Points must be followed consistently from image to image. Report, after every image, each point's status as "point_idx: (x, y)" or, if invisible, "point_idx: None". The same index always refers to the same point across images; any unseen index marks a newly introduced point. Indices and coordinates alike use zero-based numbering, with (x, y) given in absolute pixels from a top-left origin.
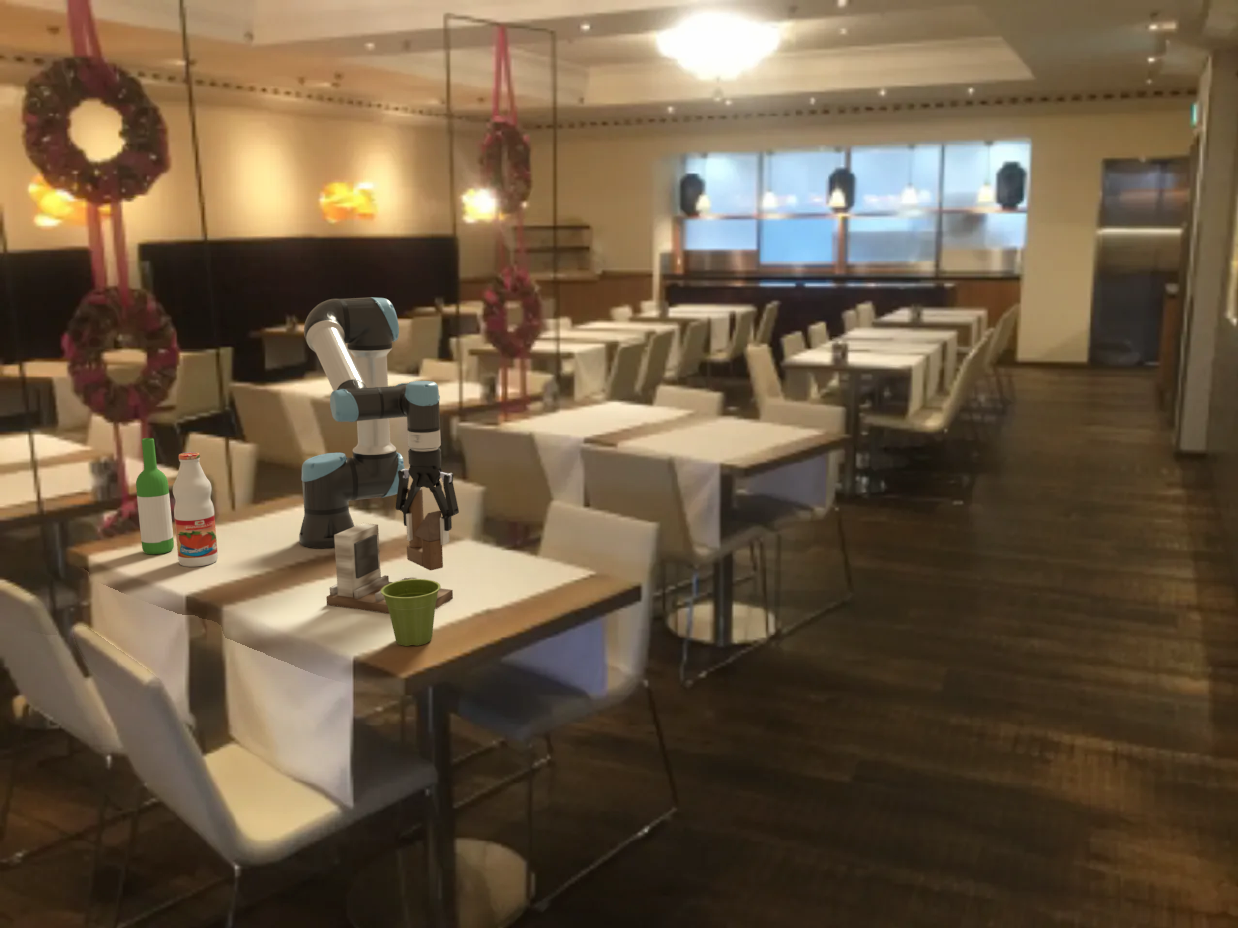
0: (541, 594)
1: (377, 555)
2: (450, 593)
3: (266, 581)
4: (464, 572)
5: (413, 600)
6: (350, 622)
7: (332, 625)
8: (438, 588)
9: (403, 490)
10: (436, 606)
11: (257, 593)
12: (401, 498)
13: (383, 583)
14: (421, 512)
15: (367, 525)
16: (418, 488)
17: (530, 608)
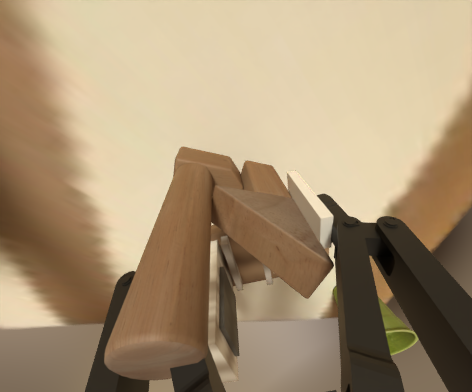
0: (465, 109)
1: (224, 287)
2: None
3: (64, 277)
4: (264, 82)
5: (393, 347)
6: (265, 292)
7: (256, 301)
8: (417, 337)
9: (142, 388)
10: None
11: (109, 297)
12: None
13: (230, 247)
14: (210, 241)
15: None
16: (217, 385)
17: (452, 173)
